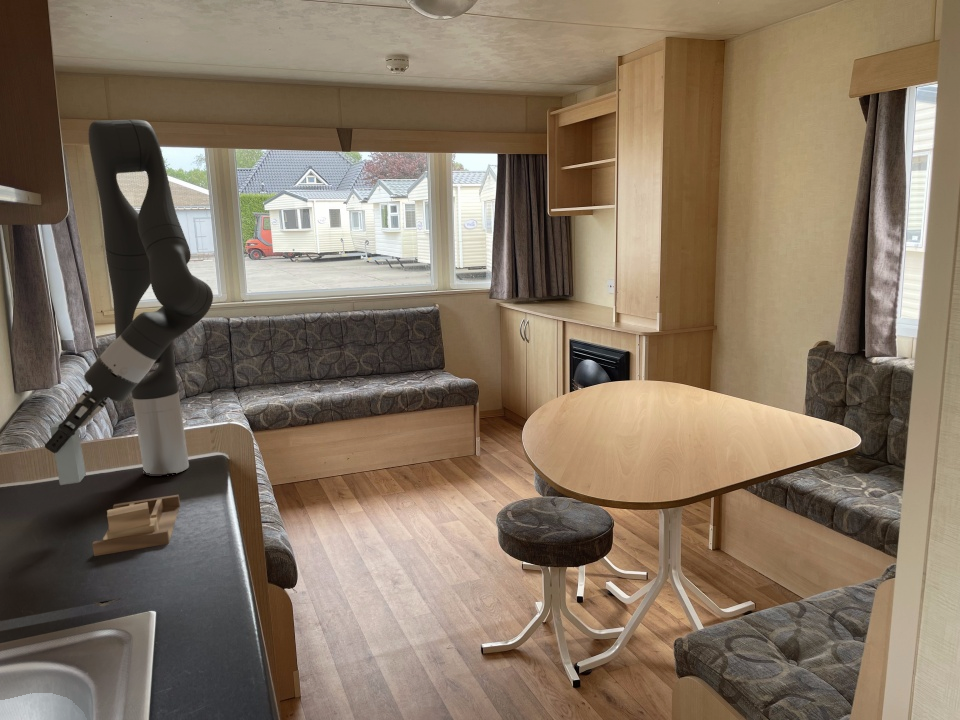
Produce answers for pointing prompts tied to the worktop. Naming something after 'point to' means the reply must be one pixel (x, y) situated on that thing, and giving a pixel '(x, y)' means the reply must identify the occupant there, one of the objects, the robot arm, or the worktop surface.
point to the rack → (166, 519)
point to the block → (69, 458)
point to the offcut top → (128, 517)
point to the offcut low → (135, 530)
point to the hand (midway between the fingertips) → (54, 445)
